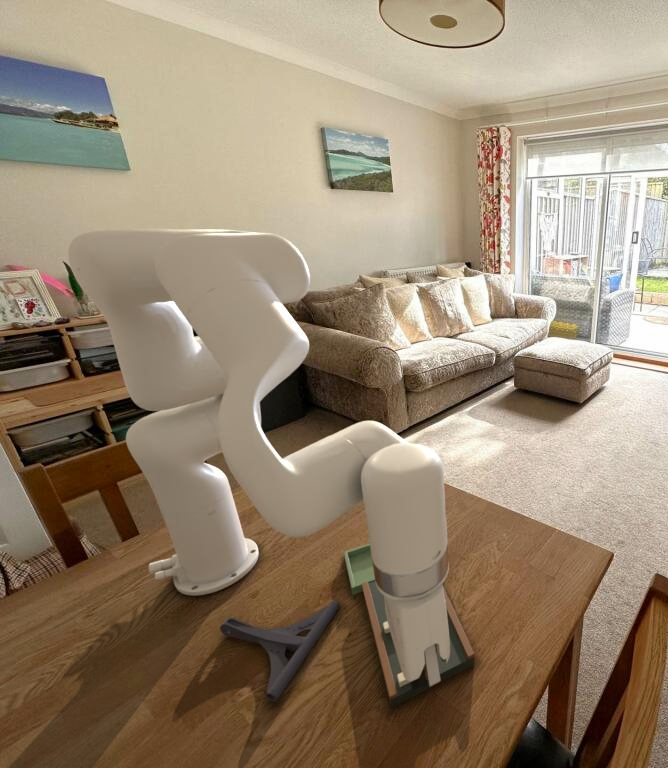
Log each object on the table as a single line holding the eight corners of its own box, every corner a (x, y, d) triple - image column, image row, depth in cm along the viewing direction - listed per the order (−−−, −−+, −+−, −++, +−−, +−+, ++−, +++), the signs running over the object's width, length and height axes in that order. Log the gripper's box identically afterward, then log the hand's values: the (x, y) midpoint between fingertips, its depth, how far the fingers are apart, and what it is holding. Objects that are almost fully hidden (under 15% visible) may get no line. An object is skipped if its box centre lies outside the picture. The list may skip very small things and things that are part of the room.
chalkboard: (391, 708, 53) (389, 697, 52) (363, 593, 69) (361, 583, 68) (474, 665, 58) (474, 653, 58) (430, 567, 75) (429, 557, 74)
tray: (352, 595, 69) (351, 588, 68) (344, 558, 76) (343, 551, 76) (437, 562, 76) (437, 556, 75) (422, 531, 83) (422, 525, 83)
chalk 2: (399, 687, 54) (399, 682, 53) (397, 679, 55) (396, 674, 54) (428, 673, 56) (428, 668, 55) (426, 665, 56) (425, 660, 56)
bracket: (260, 593, 69) (257, 580, 68) (340, 608, 66) (338, 596, 65) (182, 680, 56) (176, 667, 55) (278, 703, 53) (273, 690, 52)
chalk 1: (385, 634, 61) (384, 629, 60) (383, 627, 61) (382, 623, 61) (411, 622, 62) (410, 618, 62) (409, 616, 63) (408, 612, 63)
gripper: (360, 527, 46) (378, 639, 53) (392, 637, 34) (410, 764, 40) (424, 507, 49) (433, 615, 56) (474, 600, 37) (478, 723, 44)
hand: (423, 677), depth 48 cm, fingers closed
